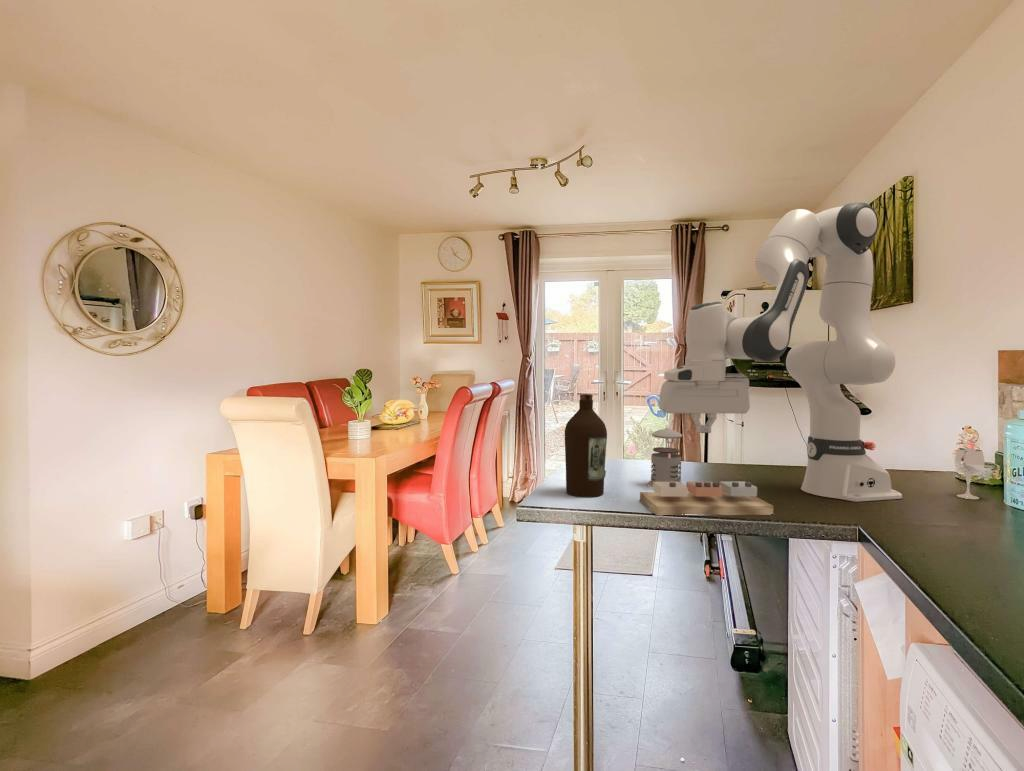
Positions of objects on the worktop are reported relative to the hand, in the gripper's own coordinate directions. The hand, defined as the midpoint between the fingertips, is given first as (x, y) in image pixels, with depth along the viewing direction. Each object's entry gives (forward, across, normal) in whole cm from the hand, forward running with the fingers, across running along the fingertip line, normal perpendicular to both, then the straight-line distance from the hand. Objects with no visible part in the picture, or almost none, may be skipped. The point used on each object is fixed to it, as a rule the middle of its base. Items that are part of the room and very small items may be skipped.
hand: (703, 432), depth 128 cm
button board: (+17, 0, +1) cm, 17 cm away
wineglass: (+17, -71, -7) cm, 73 cm away
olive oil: (+17, +25, -13) cm, 33 cm away
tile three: (+14, 0, +1) cm, 14 cm away
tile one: (+14, +8, +1) cm, 16 cm away
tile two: (+14, -8, +1) cm, 16 cm away
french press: (+17, +1, -22) cm, 28 cm away
